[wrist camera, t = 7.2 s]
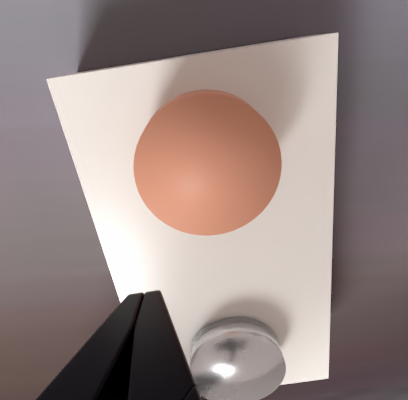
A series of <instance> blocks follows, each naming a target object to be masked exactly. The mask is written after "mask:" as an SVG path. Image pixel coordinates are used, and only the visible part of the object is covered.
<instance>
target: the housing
mask: <svg viewBox="0 0 408 400" xmlns="http://www.w3.org/2000/svg"><path fill="white" fill-rule="evenodd" d="M338 34H339V32H338V33H329V34H320V35H311V36H303V37H297V38H290V39H284V40H278V41H272V42H265V43H259V44H253V45H247V46H240V47H234V48H228V49H222V50H215V51H209V52H203V53H196V54H190V55H184V56H178V57H171V58H165V59H159V60H153V61H146V62H140V63H134V64H128V65H121V66H115V67H109V68H102V69H96V70H90V71H84V72H77V73H73V74H68V75H63V76H58V77H54V78H49V79H46V80H47V83H48V86H49V89H50V92H51V95H52V98H53V101H54V104H55V107H56V110H57V113H58V116H59V119H60V122H61V125H62V128H63V131H64V134H65V137H66V140H67V143H68V146H69V149H70V152H71V155H72V158H73V161H74V164H75V167H76V170H77V173H78V176H79V179H80V182H81V185H82V188H83V191H84V194H85V197H86V200H87V203H88V206H89V209H90V212H91V215H92V218H93V221H94V224H95V227H96V230H97V233H98V236H99V239H100V242H101V245H102V248H103V251H104V255H105V258H106V261H107V264H108V267H109V270H110V273H111V276H112V279H113V282H114V285H115V288H116V291H117V294H118V297H119V300H120V303H121V302H122V301H123V300H124V299H125V298H126V297H127V296H128V295H129V294H134V293H141V292H143V293H144V294H145V293H146V292H148V291H155V290H160V291H161V293H162V295H163V298H164V301H165V303H166V306H167V309H168V311H169V314H170V317H171V319H172V322H173V325H174V327H175V330H176V333H177V335H178V338H179V341H180V343H181V346H182V349H183V351H184V354H185V357H186V359H187V362H188V365H189V367H190V346H191V343H192V340H193V339H194V337H195V335H196V334H197V333H198V332H199V331H200V330H201V329H202V328H204V327H205V326H207V325H208V324H210V323H212V322H215V321H217V320H220V319H224V318H229V317H247V318H252V319H256V320H259V321H261V322H263V323H265V324H266V325H268V326H269V327H270V328H271V329H272V330H273V331H274V332H275V334H276V336H277V338H278V341H279V344H280V347H281V351H282V354H283V357H284V360H285V364H286V373H285V377H284V379H283V381H282V383H281V384H280V385H283V384H291V383H298V382H306V381H313V380H320V379H328V374H329V340H330V306H331V272H332V238H333V204H334V170H335V136H336V102H337V68H338ZM205 89H207V90H218V91H223V92H227V93H229V94H232V95H235V96H237V97H239V98H240V99H242V100H244V101H245V102H246V103H248V104H249V105H250V106H251V107H252V108H253V109H255V110H256V111H257V112H258V113H259V114H260V115H261V116H262V117H263V118H264V119H265V120H266V122H267V123H268V124H269V125H270V127H271V128H272V130H273V132H274V134H275V136H276V138H277V141H278V143H279V147H280V151H281V159H282V170H281V176H280V181H279V184H278V187H277V190H276V192H275V194H274V196H273V198H272V199H271V201H270V203H269V204H268V205H267V207H266V208H265V209H264V210H263V211H262V212H261V213H260V214H259V215H258V216H257V217H256V218H255V219H253V220H252V221H251V222H249V223H248V224H246V225H244V226H243V227H241V228H238V229H236V230H234V231H231V232H228V233H224V234H219V235H209V236H207V235H194V234H189V233H185V232H181V231H179V230H176V229H174V228H172V227H170V226H168V225H166V224H165V223H163V222H162V221H161V220H159V219H158V218H157V217H156V216H155V215H154V214H153V213H152V212H151V211H150V210H149V209H148V208H147V206H146V205H145V203H144V202H143V200H142V198H141V196H140V194H139V192H138V189H137V186H136V183H135V178H134V169H133V163H134V154H135V150H136V146H137V144H138V141H139V139H140V136H141V134H142V133H143V131H144V129H145V127H146V126H147V124H148V122H149V120H150V119H151V117H152V116H153V115H154V114H155V112H156V111H157V110H158V109H159V108H160V107H161V106H162V105H164V104H165V103H167V102H168V101H169V100H171V99H173V98H175V97H176V96H178V95H181V94H184V93H186V92H191V91H195V90H205ZM200 396H201V395H200Z"/></svg>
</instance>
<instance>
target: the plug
mask: <svg viewBox="0 0 408 400" xmlns="http://www.w3.org/2000/svg"><path fill="white" fill-rule="evenodd" d="M190 370H191V373H192V376H193V378H194V381H195V384H196V387H197V389H198V391H199V394H200V395H201V396H203V397H204V398H206V399H208V400H260V399H262V398H264V397H266V396H268V395H269V394H271V393H272V392H273V391H275V390H276V389H277V388H278V387H279V385H280V384H281V383H282V381H283V379H284V377H285V373H286V364H285V360H284V357H283V354H282V351H281V347H280V344H279V341H278V338H277V336H276V334H275V332H274V331H273V330H272V329H271V328H270V327H269V326H268V325H266V324H265V323H263V322H261V321H259V320H256V319H252V318H247V317H229V318H224V319H220V320H217V321H215V322H212V323H210V324H208V325H207V326H205V327H204V328H202V329H201V330H200V331H199V332H198V333H197V334H196V335H195V337H194V339H193V340H192V343H191V346H190Z"/></svg>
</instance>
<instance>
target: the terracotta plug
mask: <svg viewBox="0 0 408 400" xmlns="http://www.w3.org/2000/svg"><path fill="white" fill-rule="evenodd" d="M133 169H134V178H135V183H136V186H137V189H138V192H139V194H140V196H141V198H142V200H143V202H144V203H145V205H146V206H147V208H148V209H149V210H150V211H151V212H152V213H153V214H154V215H155V216H156V217H157V218H158V219H159V220H161V221H162V222H163V223H165V224H166V225H168V226H170V227H172V228H174V229H176V230H179V231H181V232H185V233H189V234H194V235H207V236H209V235H219V234H224V233H228V232H231V231H234V230H236V229H238V228H241V227H243V226H244V225H246V224H248V223H249V222H251V221H252V220H253V219H255V218H256V217H257V216H258V215H259V214H260V213H261V212H262V211H263V210H264V209H265V208H266V207H267V205H268V204H269V203H270V201H271V199H272V198H273V196H274V194H275V192H276V190H277V187H278V184H279V181H280V176H281V170H282V159H281V151H280V147H279V143H278V141H277V138H276V136H275V134H274V132H273V130H272V128H271V127H270V125H269V124H268V123H267V122H266V120H265V119H264V118H263V117H262V116H261V115H260V114H259V113H258V112H257V111H256V110H255V109H253V108H252V107H251V106H250V105H249V104H248V103H246V102H245V101H244V100H242V99H240V98H239V97H237V96H235V95H232V94H229V93H227V92H223V91H218V90H207V89H205V90H195V91H191V92H186V93H184V94H181V95H178V96H176V97H175V98H173V99H171V100H169V101H168V102H167V103H165V104H164V105H162V106H161V107H160V108H159V109H158V110H157V111H156V112H155V114H154V115H153V116H152V117H151V119H150V120H149V122H148V124H147V126H146V127H145V129H144V131H143V133H142V134H141V136H140V139H139V141H138V144H137V146H136V150H135V154H134V163H133Z"/></svg>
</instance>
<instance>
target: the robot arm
mask: <svg viewBox="0 0 408 400" xmlns="http://www.w3.org/2000/svg"><path fill="white" fill-rule="evenodd" d="M36 400H202V399H201V396H200V394H199V391H198V389H197V387H196V384H195V381H194V378H193V376H192V373H191V370H190V367H189V365H188V362H187V359H186V357H185V354H184V351H183V349H182V346H181V343H180V341H179V338H178V335H177V333H176V330H175V327H174V325H173V322H172V319H171V317H170V314H169V311H168V309H167V306H166V303H165V301H164V298H163V295H162V293H161V291H160V290H155V291H148V292H146V293H145V294H144V293H143V292H141V293H134V294H129V295H128V296H127V297H126V298H125V299H124V300H123V301H122V302H121V303H120V305H119V306H118V307H117V308H116V309H115V310H114V311H113V313H112V314H111V315H110V316H109V317H108V318H107V319H106V321H105V322H104V323H103V324H102V325H101V326H100V327H99V328H98V330H97V331H96V332H95V333H94V334H93V335H92V336H91V338H90V339H89V340H88V341H87V342H86V343H85V344H84V345H83V347H82V348H81V349H80V350H79V351H78V352H77V353H76V355H75V356H74V357H73V358H72V359H71V360H70V361H69V362H68V364H67V365H66V366H65V367H64V368H63V369H62V370H61V372H60V373H59V374H58V375H57V376H56V377H55V378H54V380H53V381H52V382H51V383H50V384H49V385H48V386H47V387H46V389H45V390H44V391H43V392H42V393H41V394H40V395H39V397H38V398H37V399H36Z"/></svg>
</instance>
